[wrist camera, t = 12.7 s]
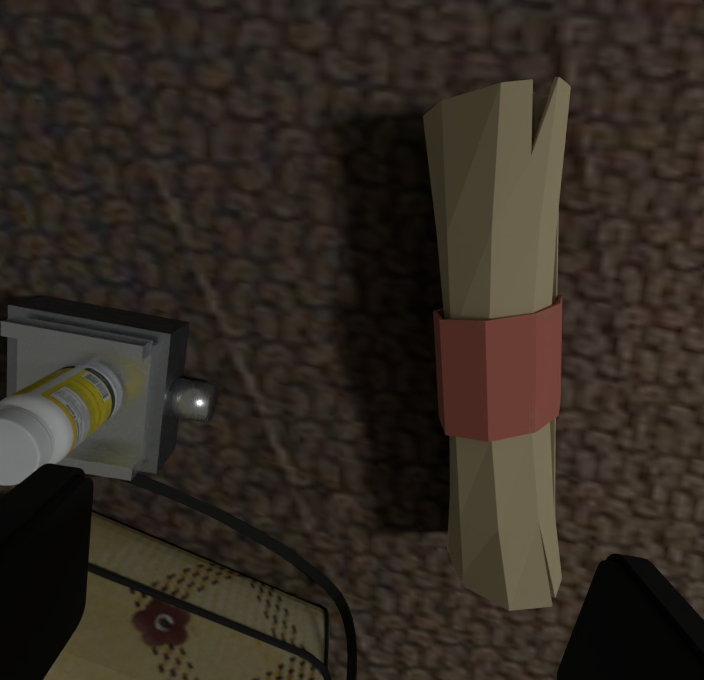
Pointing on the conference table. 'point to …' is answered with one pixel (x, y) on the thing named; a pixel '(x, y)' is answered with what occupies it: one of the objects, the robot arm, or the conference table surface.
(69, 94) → the conference table surface
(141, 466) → the grey drawer with knob
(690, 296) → the conference table surface
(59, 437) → the supplement bottle
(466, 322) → the scroll
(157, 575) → the beige handbag
